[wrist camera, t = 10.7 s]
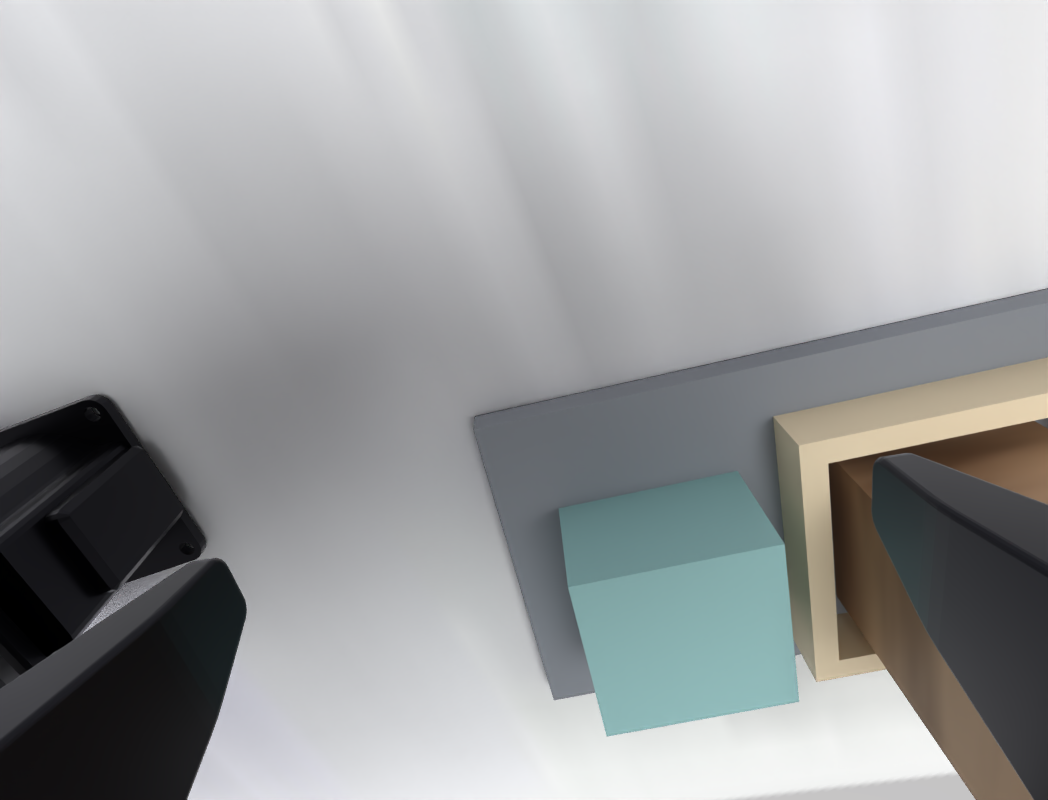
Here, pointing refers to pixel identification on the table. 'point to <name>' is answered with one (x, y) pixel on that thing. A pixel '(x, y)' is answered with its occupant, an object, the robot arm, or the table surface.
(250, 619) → the table surface
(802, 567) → the board
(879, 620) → the pillar
